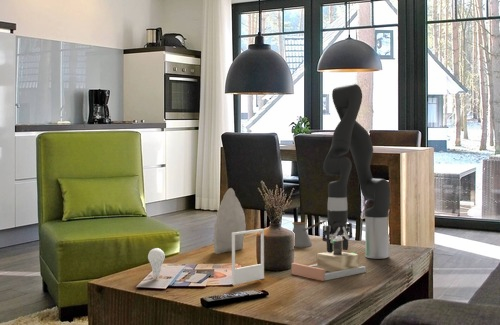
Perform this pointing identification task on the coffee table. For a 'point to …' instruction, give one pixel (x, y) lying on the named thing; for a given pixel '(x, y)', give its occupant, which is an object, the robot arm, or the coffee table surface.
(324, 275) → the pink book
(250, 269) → the photo frame
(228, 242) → the rock
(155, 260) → the lightbulb
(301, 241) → the coffee pot
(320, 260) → the light wooden block
